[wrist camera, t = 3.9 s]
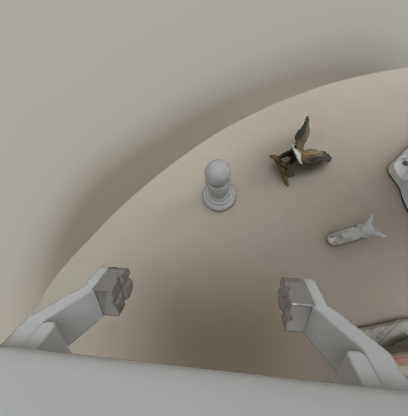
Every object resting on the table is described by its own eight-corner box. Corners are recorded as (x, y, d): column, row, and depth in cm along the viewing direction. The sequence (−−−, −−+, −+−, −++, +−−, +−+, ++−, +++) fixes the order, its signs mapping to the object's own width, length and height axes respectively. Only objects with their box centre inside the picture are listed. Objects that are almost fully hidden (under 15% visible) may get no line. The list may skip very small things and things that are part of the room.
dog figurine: (345, 248, 30) (391, 236, 26) (321, 256, 25) (372, 243, 21) (335, 228, 31) (377, 213, 27) (309, 232, 26) (356, 215, 22)
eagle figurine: (272, 180, 35) (315, 153, 35) (300, 193, 28) (352, 159, 28) (257, 141, 31) (304, 111, 31) (285, 146, 25) (344, 108, 25)
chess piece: (201, 184, 33) (192, 152, 24) (232, 179, 33) (235, 145, 24) (205, 214, 31) (197, 191, 23) (238, 209, 31) (244, 184, 22)
